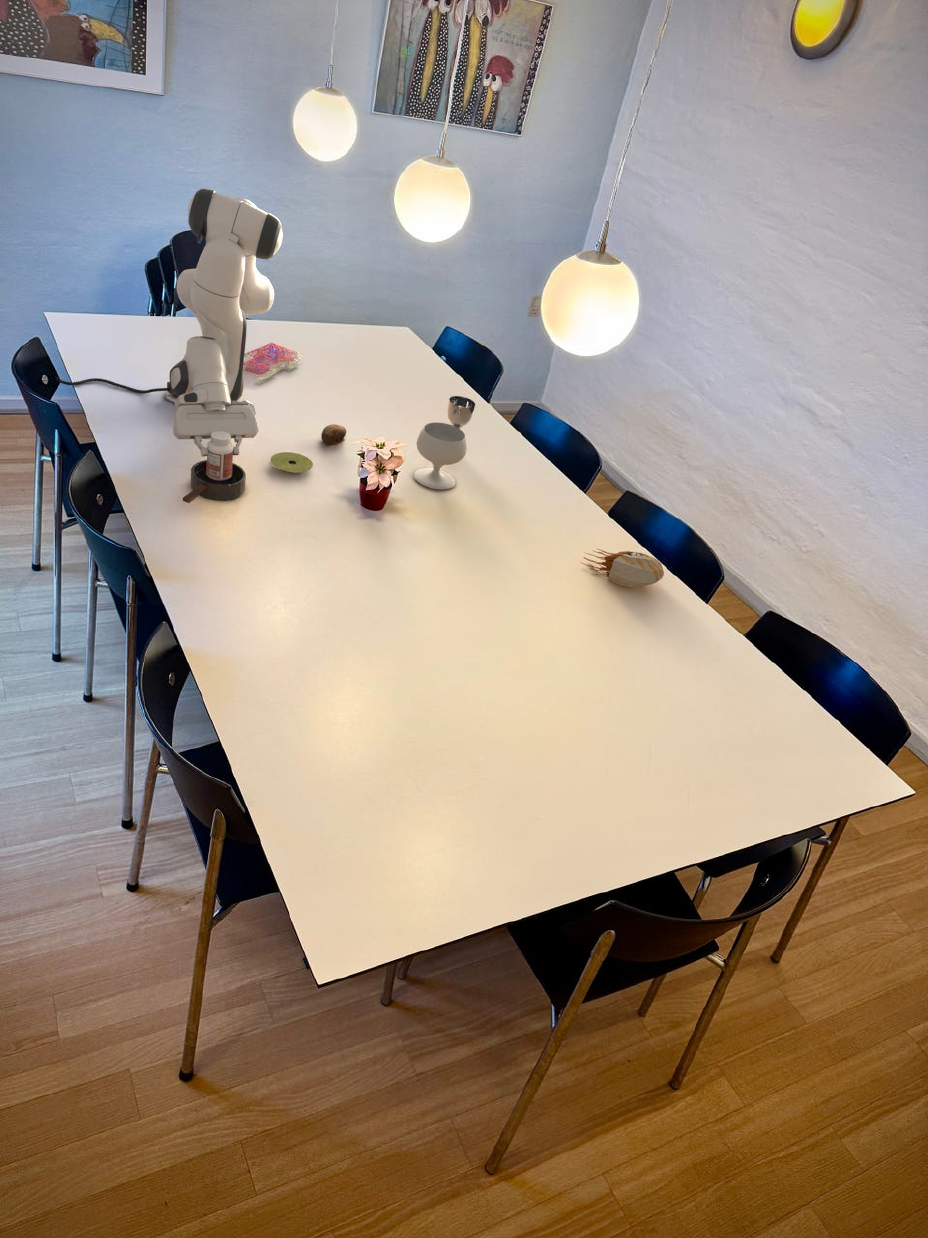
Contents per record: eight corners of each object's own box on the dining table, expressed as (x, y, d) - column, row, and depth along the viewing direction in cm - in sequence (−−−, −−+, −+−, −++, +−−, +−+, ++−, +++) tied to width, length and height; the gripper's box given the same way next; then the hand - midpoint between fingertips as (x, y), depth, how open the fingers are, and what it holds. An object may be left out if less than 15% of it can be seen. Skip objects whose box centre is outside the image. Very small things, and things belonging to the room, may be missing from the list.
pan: (180, 490, 219) (180, 474, 216) (207, 470, 229) (208, 454, 227) (228, 507, 217) (229, 491, 215) (253, 486, 228) (255, 470, 225)
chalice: (403, 467, 254) (412, 419, 245) (448, 467, 260) (458, 421, 251) (419, 492, 244) (429, 443, 235) (465, 492, 250) (477, 444, 241)
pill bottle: (228, 468, 225) (231, 429, 218) (234, 481, 220) (236, 440, 214) (203, 469, 222) (205, 429, 215) (208, 481, 218) (210, 441, 211)
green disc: (277, 479, 233) (277, 472, 232) (264, 458, 241) (265, 452, 239) (317, 477, 238) (318, 471, 237) (304, 457, 246) (305, 451, 245)
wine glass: (469, 448, 273) (479, 403, 265) (457, 456, 267) (468, 410, 259) (446, 438, 275) (456, 393, 267) (435, 446, 269) (444, 400, 261)
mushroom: (355, 432, 258) (345, 416, 253) (348, 452, 253) (337, 436, 249) (331, 436, 261) (321, 420, 256) (324, 456, 257) (313, 440, 252)
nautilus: (573, 578, 226) (584, 554, 238) (655, 603, 222) (662, 577, 235) (580, 551, 222) (591, 528, 234) (664, 576, 218) (670, 551, 231)
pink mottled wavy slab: (261, 387, 276) (262, 372, 273) (220, 371, 279) (221, 356, 276) (310, 363, 300) (312, 349, 297) (272, 349, 303) (273, 334, 300)
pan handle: (182, 501, 209) (182, 497, 209) (202, 486, 216) (202, 482, 216) (189, 503, 209) (189, 500, 208) (208, 488, 216) (208, 485, 216)
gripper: (250, 405, 226) (258, 457, 225) (168, 405, 216) (176, 460, 215) (256, 396, 220) (265, 450, 219) (172, 396, 210) (180, 452, 210)
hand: (220, 455), depth 217 cm, fingers closed on pill bottle, 6 cm apart
